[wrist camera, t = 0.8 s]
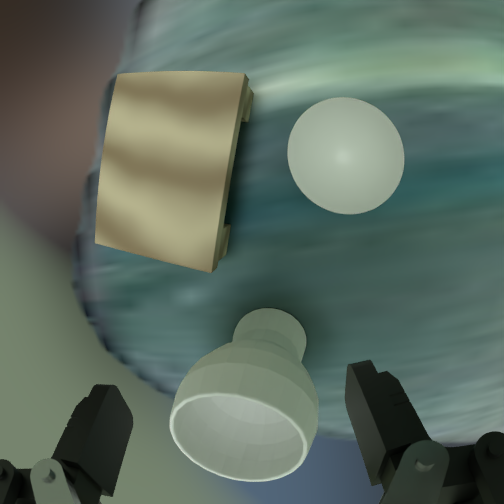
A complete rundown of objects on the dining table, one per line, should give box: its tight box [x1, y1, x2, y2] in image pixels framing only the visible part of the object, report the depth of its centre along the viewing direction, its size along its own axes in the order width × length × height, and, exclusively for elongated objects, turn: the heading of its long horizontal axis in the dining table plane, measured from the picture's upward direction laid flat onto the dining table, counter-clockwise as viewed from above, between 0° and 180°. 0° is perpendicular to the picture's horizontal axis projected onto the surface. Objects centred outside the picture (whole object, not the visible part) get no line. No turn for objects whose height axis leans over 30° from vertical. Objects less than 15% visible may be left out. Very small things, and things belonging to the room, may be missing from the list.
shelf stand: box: [95, 71, 254, 273], centre depth 26 cm, size 16×12×6 cm
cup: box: [170, 308, 319, 482], centre depth 24 cm, size 11×11×15 cm
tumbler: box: [288, 97, 404, 214], centre depth 20 cm, size 6×6×13 cm
